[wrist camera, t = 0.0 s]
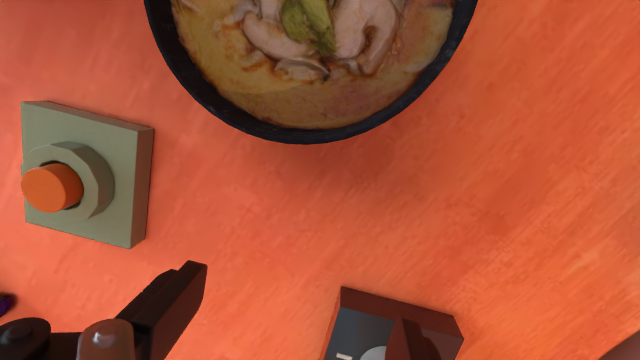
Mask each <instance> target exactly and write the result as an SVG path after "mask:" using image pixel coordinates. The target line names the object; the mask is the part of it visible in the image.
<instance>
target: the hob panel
mask: <svg viewBox="0 0 640 360" xmlns="http://www.w3.org/2000/svg"><path fill="white" fill-rule="evenodd" d="M399 316H401V317H404V318H408V319H412V320H416V321H418V322H419V324H420V328H421V331H422V334H423V336H424V337H428V338H430V339H431V341H432V342H433V343H434V345H435V346H436V347H437V349H438V350H439V353H440V356H441V359H442V360H455V358H456V356H457V354H458V351H459V349H460V347H461V345H462V343H463V341H464V338H463V336H462V334H461V332H460V329H459V327H458V325H457V323H456V321H455V319H454V316H452V315H449V314H445V313H441V312H437V311H433V310H430V309H426V308H422V307H418V306H414V305H411V304H407V303H403V302H399V301H395V300H392V299H388V298H384V297H380V296H376V295H373V294H369V293H365V292H361V291H357V290H354V289H350V288H346V287H342V286H341V287H340V291H339V294H338V297H337V301H336V304H335V307H334V311H333V314H332V317H331V321H330V324H329V327H328V330H327V334H326V337H325V340H324V344H323V347H322V350H321V354H320V357H319V360H360V359H361V357H362V356H363V354H364V353H365V352H367V351H368V350H370V349H372V348H375V347H379V346H387V344H388V341H389V339H390V336H391V333H392V331H393V328H394V325H395V323H396V320H397V318H398V317H399Z"/></svg>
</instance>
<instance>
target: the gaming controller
mask: <svg viewBox="0 0 640 360" xmlns="http://www.w3.org/2000/svg"><path fill="white" fill-rule="evenodd" d="M12 303H13V300H12V298H11V297H10V296H1V297H0V318H1V317H2V316H3V315H5V314H6V312H7V311H8V310H9V309H10V308H11V306H12Z"/></svg>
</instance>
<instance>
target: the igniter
mask: <svg viewBox="0 0 640 360" xmlns="http://www.w3.org/2000/svg"><path fill="white" fill-rule="evenodd" d="M21 188H22V192H23V194H24V196H25V198H26V200H27V201H28V202H29V203H30V204H31V205H32V206H33V207H34V208H36V209H38V210H40V211H42V212H46V213H54V212H57V211H60V210H62V209H65V208H67V207H69V206H72V205H74V204H76V203H78V202H79V201H80V200H81V198H82V196H83V191H84V188H83V183H82V180H81V178H80V177H79V175H78V174H77V173H76V172H75V171H74V170H73V169H72V168H70V167H69V166H67V165H64V164H60V163H54V164H49V165H45V166H41V167H37V168H33V169H30V170H29V171H27V172H26V173H25V174H24V176H23V177H22V181H21Z"/></svg>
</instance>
